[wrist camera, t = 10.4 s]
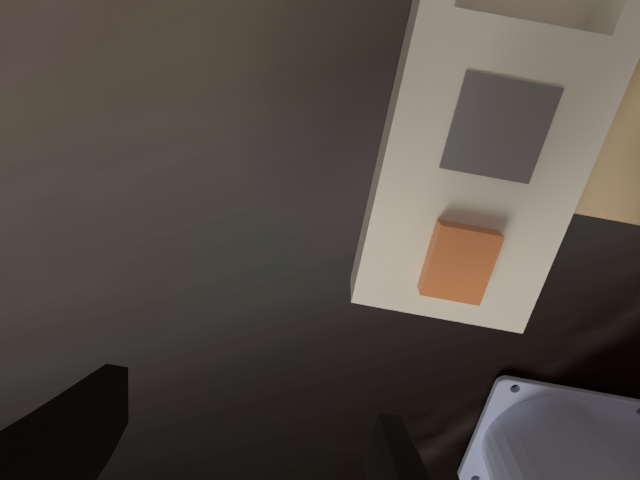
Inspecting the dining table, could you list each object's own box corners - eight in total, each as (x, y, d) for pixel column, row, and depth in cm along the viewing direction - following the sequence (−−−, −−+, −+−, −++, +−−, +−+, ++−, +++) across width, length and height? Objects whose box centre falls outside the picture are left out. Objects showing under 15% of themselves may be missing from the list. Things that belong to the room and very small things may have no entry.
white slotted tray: (734, -289, 13) (858, -407, 10) (502, 305, 21) (529, 344, 18) (487, -336, 13) (532, -470, 10) (350, 278, 21) (351, 311, 18)
